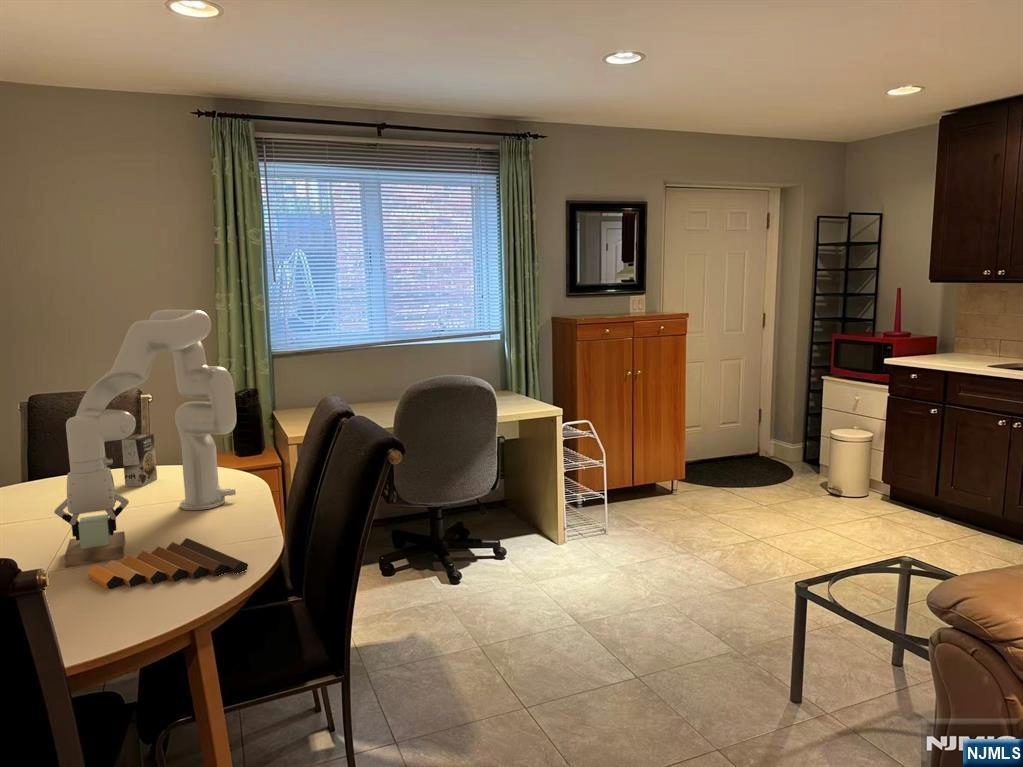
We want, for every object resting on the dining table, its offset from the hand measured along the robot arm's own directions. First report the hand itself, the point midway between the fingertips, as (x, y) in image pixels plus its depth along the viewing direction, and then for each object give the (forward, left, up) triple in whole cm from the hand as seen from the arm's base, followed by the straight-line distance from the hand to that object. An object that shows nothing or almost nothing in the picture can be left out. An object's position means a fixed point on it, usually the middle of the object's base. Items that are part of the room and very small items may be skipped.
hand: (95, 535), depth 173 cm
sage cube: (0, 0, -2) cm, 2 cm away
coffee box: (-9, -67, -5) cm, 68 cm away
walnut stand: (0, 0, -5) cm, 5 cm away
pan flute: (-16, +22, -6) cm, 28 cm away
